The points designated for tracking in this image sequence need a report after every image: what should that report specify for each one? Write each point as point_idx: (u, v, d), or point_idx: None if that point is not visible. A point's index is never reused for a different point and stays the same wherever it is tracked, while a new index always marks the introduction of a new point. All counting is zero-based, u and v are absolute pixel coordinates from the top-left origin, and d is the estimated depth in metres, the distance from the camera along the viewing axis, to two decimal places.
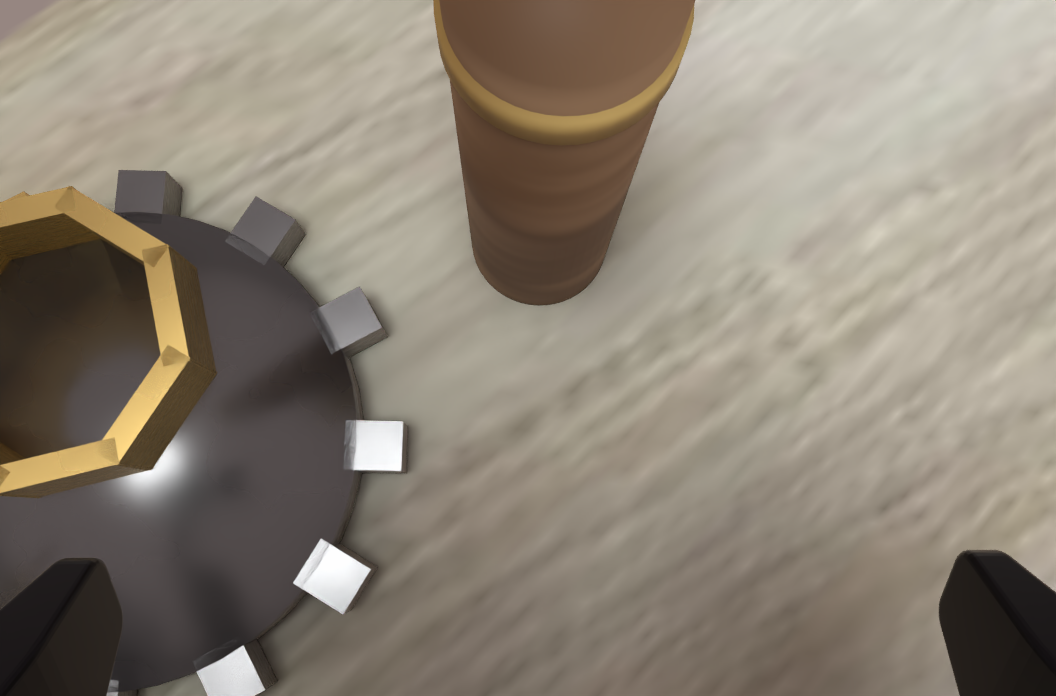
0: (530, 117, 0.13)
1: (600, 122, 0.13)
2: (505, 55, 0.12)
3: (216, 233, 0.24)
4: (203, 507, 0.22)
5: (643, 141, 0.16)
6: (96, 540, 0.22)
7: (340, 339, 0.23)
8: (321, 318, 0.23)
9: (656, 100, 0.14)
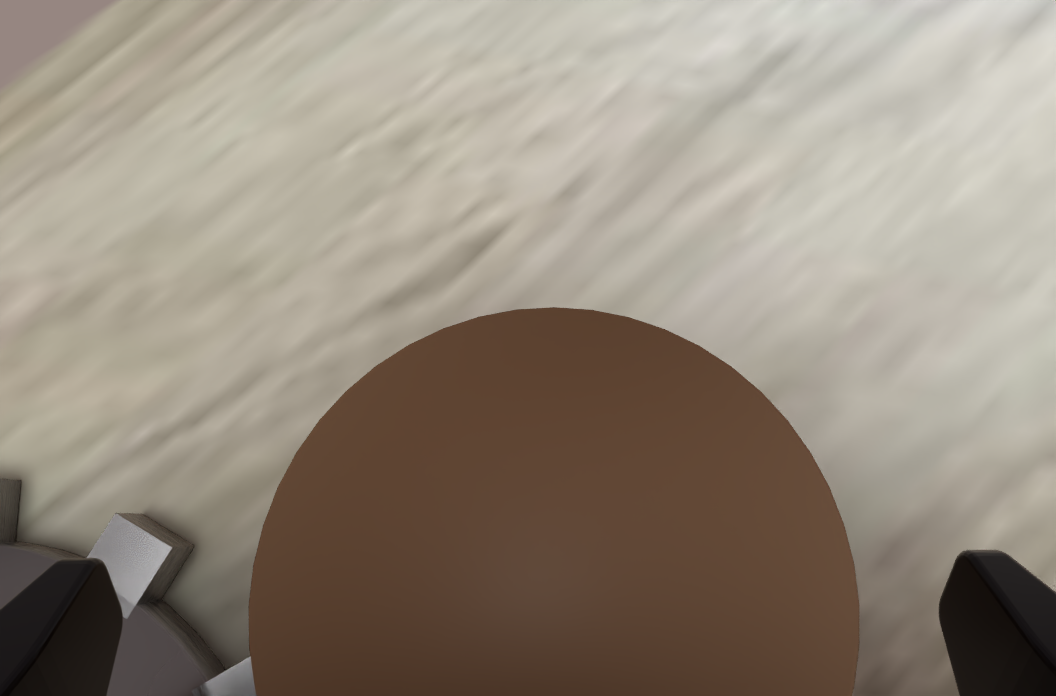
0: None
1: None
2: None
3: None
4: None
5: None
6: None
7: None
8: None
9: None
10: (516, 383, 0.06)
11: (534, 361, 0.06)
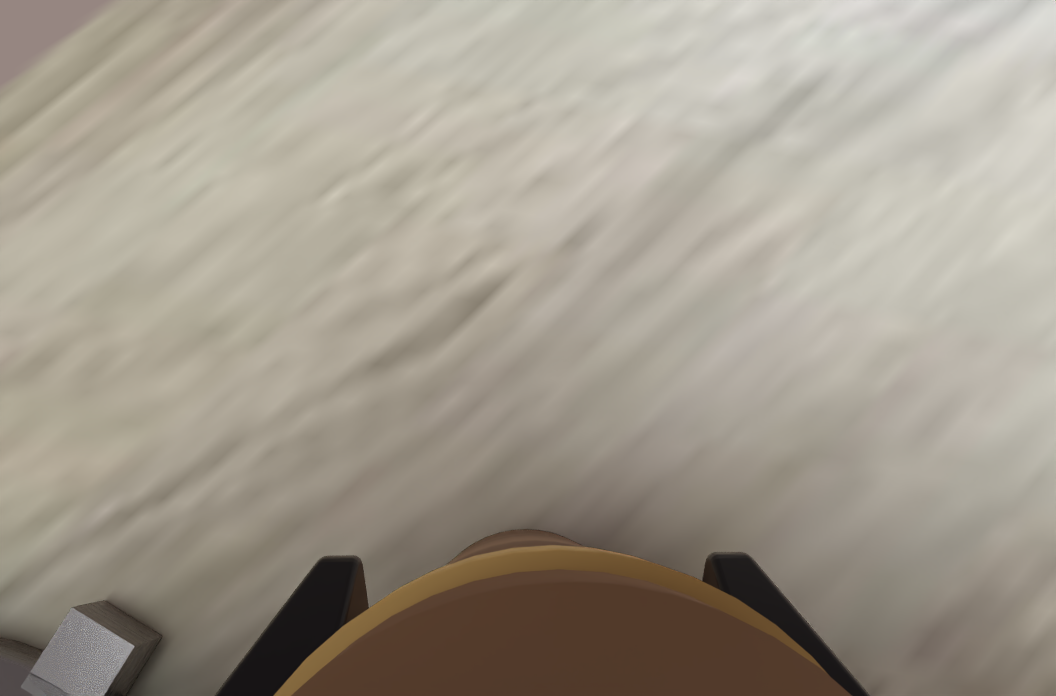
0: None
1: None
2: None
3: (7, 673, 0.15)
4: None
5: None
6: None
7: None
8: None
9: None
10: (518, 695, 0.04)
11: (543, 659, 0.04)
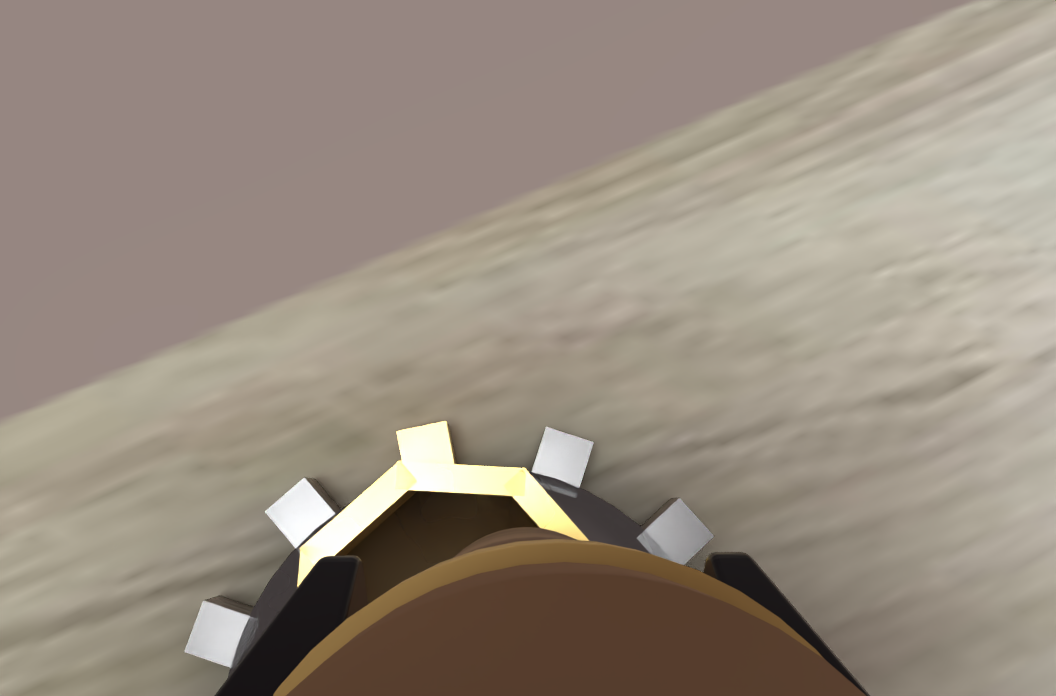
0: None
1: None
2: None
3: (630, 526, 0.22)
4: None
5: None
6: None
7: None
8: None
9: None
10: (523, 685, 0.04)
11: (548, 650, 0.04)
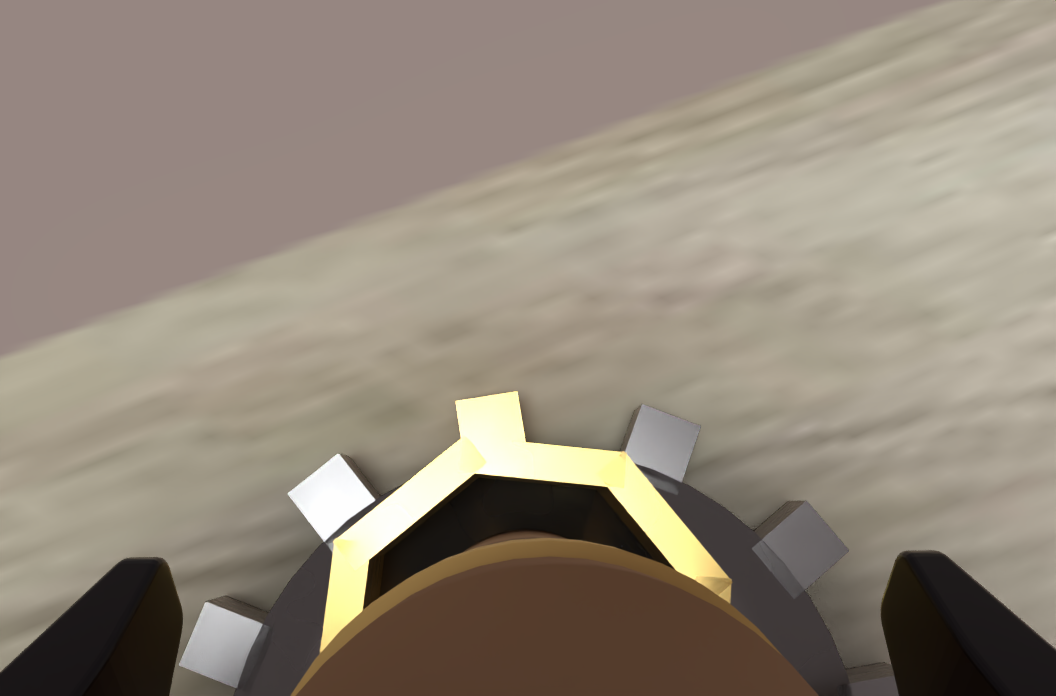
0: None
1: None
2: None
3: (743, 533, 0.18)
4: None
5: None
6: None
7: None
8: None
9: None
10: (514, 653, 0.05)
11: (535, 625, 0.05)
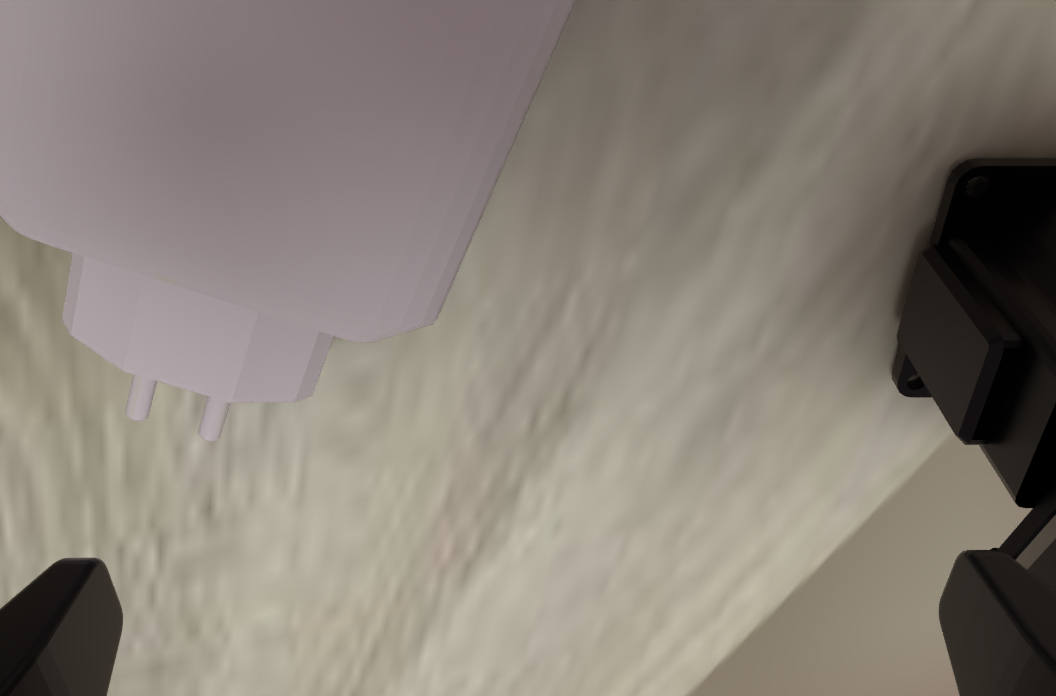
0: None
1: None
2: None
3: None
4: None
5: None
6: None
7: None
8: None
9: None
10: None
11: None
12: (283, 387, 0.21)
